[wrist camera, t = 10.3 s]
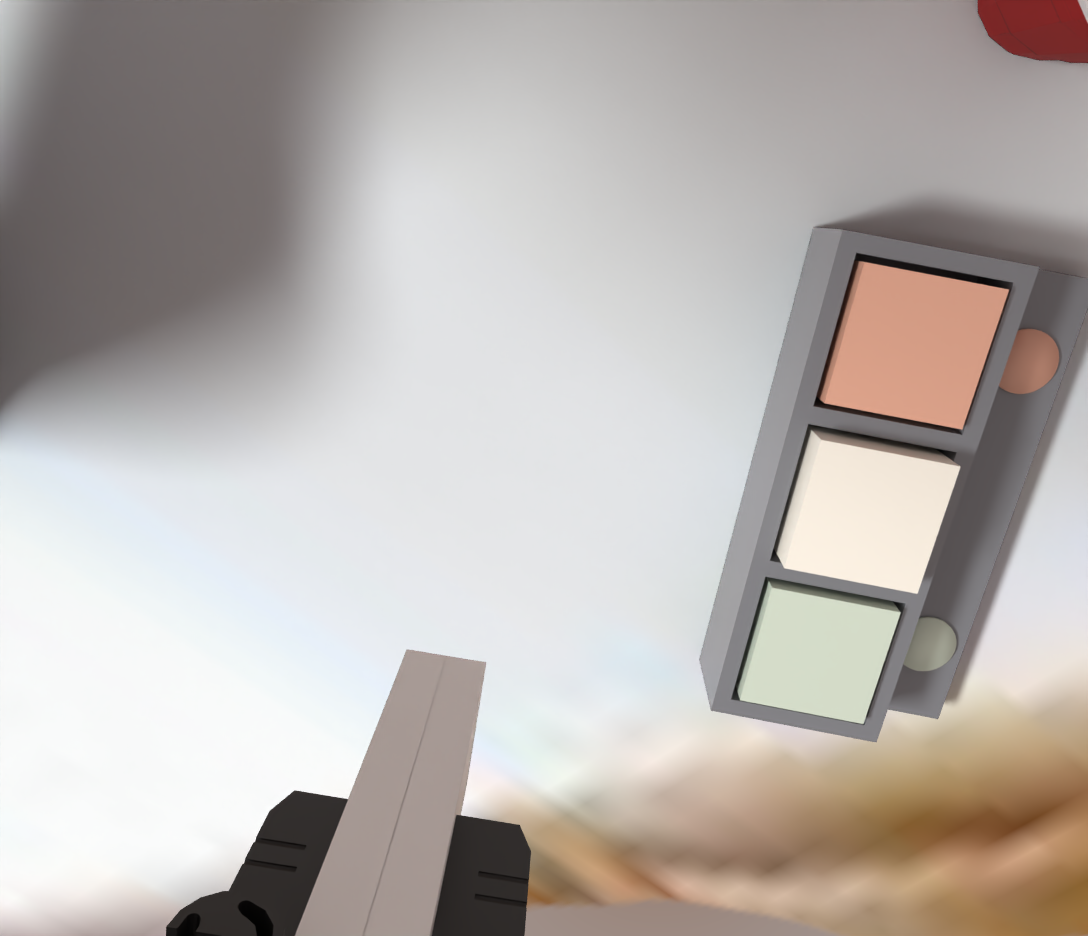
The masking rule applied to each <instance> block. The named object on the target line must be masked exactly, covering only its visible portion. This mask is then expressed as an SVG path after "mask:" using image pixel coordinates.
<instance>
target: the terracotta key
mask: <svg viewBox="0 0 1088 936" xmlns="http://www.w3.org/2000/svg"><path fill="white" fill-rule="evenodd" d="M1008 292H1009V289H1004V288H998V287H993V286H988V285H983V284H977V283H972V282H967V281H962V280H956V279H951V278H946V277H941V276H935V275H930V274H925V273H919V272H914V271H909V270H904V269H898V268H893V267H888V266H883V265H877V264H872V263H867V262H861V261H856V260H854V263H853V266H852V270H851V274H850V277H849V281H848V284H847V288H846V291H845V295H844V298H843V302H842V306H841V309H840V313H839V316H838V320H837V323H836V327H835V331H834V334H833V338H832V341H831V345H830V348H829V352H828V356H827V359H826V363H825V366H824V370H823V373H822V377H821V380H820V384H819V388H818V391H817V395H816V396H817V397H818V398H819V399H820V400H821V401H822V402H824V403H826V404H831V405H836V406H841V407H847V408H852V409H857V410H862V411H868V412H873V413H878V414H883V415H889V416H894V417H899V418H904V419H910V420H915V421H920V422H925V423H930V424H936V425H941V426H946V427H951V428H957V429H963V426H964V423H965V420H966V417H967V414H968V411H969V408H970V405H971V402H972V399H973V396H974V393H975V390H976V387H977V384H978V381H979V378H980V375H981V372H982V369H983V366H984V363H985V360H986V357H987V354H988V351H989V348H990V345H991V342H992V339H993V336H994V333H995V331H996V328H997V325H998V322H999V319H1000V316H1001V313H1002V310H1003V307H1004V304H1005V301H1006V298H1007V295H1008Z"/></svg>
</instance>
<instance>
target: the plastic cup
mask: <svg viewBox="0 0 1088 936" xmlns="http://www.w3.org/2000/svg"><path fill="white" fill-rule="evenodd" d="M978 14H979V16H980V18H981V20H982V22H983V24H984V27H985V29H986V31H987V33H988V35H989V37H991V38H992V39H993V40H994V41H995V42H997V43H998V44H999V45H1000V46H1002V47H1003V48H1004V49H1005V50H1007V51H1008V52H1011V53H1012V54H1014V55H1019V56H1023V57H1028V58H1032V59H1036V60H1060V61H1065V62H1069V63H1088V0H978Z"/></svg>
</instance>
